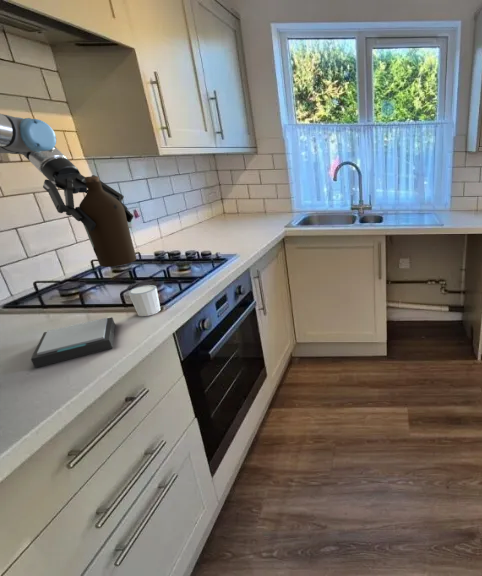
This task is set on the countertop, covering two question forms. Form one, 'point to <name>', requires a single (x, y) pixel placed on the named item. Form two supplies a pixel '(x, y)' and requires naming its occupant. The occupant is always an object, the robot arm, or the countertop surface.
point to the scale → (74, 341)
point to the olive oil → (107, 226)
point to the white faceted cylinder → (145, 300)
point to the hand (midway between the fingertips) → (113, 223)
